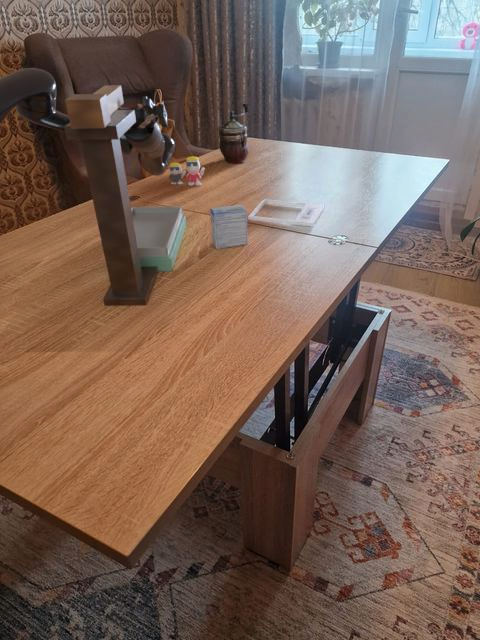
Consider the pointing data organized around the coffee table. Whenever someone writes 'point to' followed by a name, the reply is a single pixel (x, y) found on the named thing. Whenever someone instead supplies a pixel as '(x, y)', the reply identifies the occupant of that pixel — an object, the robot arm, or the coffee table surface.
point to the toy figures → (191, 167)
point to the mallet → (94, 107)
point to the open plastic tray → (158, 235)
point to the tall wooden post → (114, 210)
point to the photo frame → (304, 218)
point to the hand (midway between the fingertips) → (121, 101)
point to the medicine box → (229, 226)
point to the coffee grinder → (234, 139)
